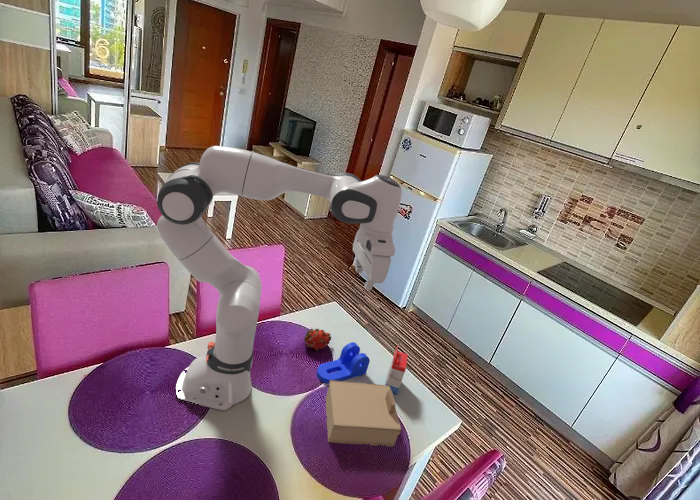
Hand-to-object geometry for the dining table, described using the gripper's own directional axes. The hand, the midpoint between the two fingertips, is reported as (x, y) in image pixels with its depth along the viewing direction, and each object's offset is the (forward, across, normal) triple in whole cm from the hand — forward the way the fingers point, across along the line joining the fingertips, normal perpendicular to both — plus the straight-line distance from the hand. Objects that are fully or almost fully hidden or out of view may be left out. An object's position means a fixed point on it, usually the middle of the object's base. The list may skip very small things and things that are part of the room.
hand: (362, 280), depth 114 cm
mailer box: (+46, +10, +6) cm, 47 cm away
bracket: (+46, -13, +6) cm, 48 cm away
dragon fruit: (+46, -27, -1) cm, 53 cm away
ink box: (+46, -6, +24) cm, 52 cm away
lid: (+39, +10, +6) cm, 41 cm away
